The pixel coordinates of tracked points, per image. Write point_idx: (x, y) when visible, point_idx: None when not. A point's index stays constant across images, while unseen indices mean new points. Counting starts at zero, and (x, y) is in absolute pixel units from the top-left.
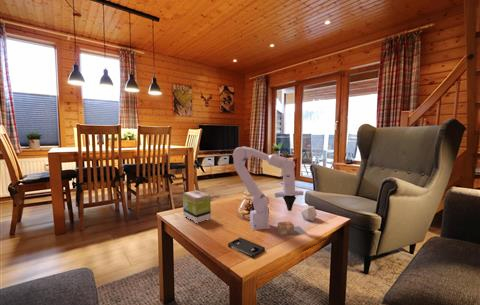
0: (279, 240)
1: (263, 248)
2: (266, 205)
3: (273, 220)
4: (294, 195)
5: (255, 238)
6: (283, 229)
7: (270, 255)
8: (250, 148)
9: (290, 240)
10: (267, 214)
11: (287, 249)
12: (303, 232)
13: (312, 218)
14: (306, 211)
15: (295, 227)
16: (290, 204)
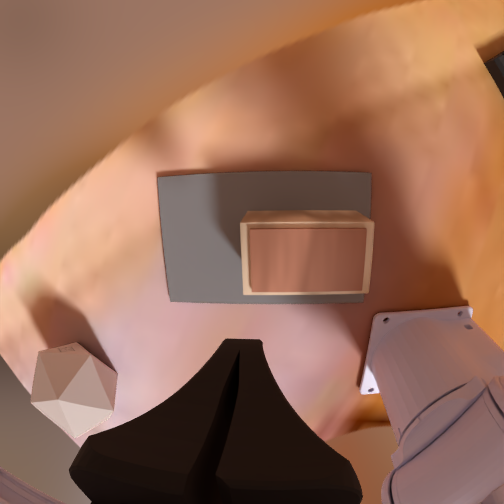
0: (391, 132)
1: (498, 56)
2: (462, 439)
3: (298, 412)
4: None
5: (497, 205)
6: (340, 216)
7: (465, 19)
8: None
9: (319, 111)
10: (423, 384)
11: (376, 23)
12: (177, 199)
13: (70, 347)
14: (78, 390)
15: (201, 289)
16: (225, 402)
